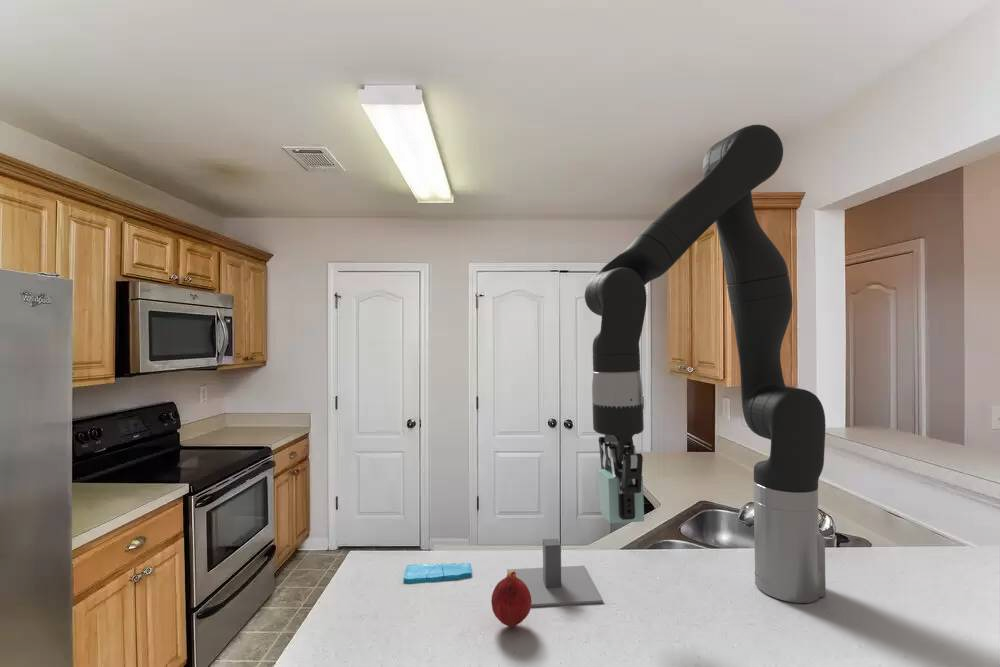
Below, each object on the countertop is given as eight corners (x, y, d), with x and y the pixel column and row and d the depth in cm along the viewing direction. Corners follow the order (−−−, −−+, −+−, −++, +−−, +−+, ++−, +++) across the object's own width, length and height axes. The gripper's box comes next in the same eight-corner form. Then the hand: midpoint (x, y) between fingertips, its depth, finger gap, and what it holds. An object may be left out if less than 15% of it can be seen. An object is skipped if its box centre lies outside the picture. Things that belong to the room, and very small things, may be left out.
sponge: (471, 579, 86) (472, 560, 92) (401, 580, 86) (406, 561, 92) (471, 587, 86) (472, 567, 92) (401, 588, 86) (407, 568, 92)
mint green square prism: (632, 509, 80) (630, 467, 80) (644, 521, 74) (642, 476, 74) (599, 511, 79) (598, 469, 79) (609, 523, 74) (608, 478, 74)
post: (558, 579, 86) (557, 538, 86) (561, 587, 83) (560, 544, 83) (543, 580, 86) (542, 539, 86) (545, 588, 83) (545, 545, 83)
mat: (584, 567, 91) (584, 565, 91) (603, 602, 79) (603, 600, 79) (507, 571, 90) (507, 569, 90) (514, 607, 78) (514, 605, 78)
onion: (528, 641, 69) (527, 583, 70) (487, 636, 71) (487, 579, 71) (534, 617, 75) (533, 564, 75) (496, 614, 76) (495, 561, 76)
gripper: (660, 406, 70) (663, 528, 70) (625, 394, 84) (628, 495, 84) (607, 408, 69) (610, 531, 69) (581, 396, 84) (584, 498, 84)
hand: (620, 511), depth 77 cm, fingers closed on mint green square prism, 5 cm apart
